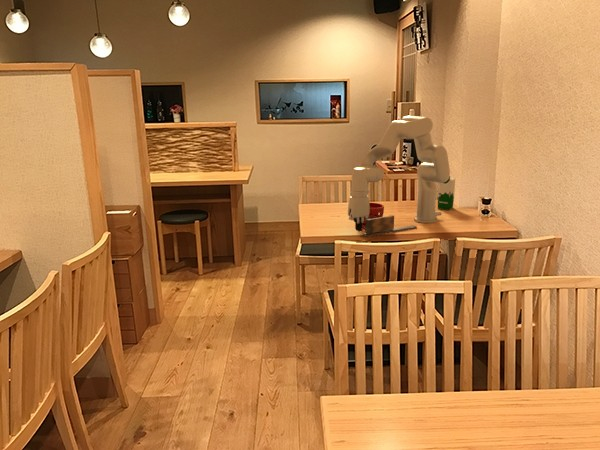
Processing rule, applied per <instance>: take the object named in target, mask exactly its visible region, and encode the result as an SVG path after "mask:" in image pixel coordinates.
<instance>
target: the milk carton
mask: <svg viewBox="0 0 600 450" xmlns="http://www.w3.org/2000/svg"><path fill="white" fill-rule="evenodd" d="M455 186H456V178H454V177H451V176H449V179H448V180H447V181H446V182H444V183H438V192H437V210H444V211H451V210H452V209H453V208H454V203H455V202H454V201H455V191H456V190H455V188H456V187H455Z"/></svg>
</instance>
